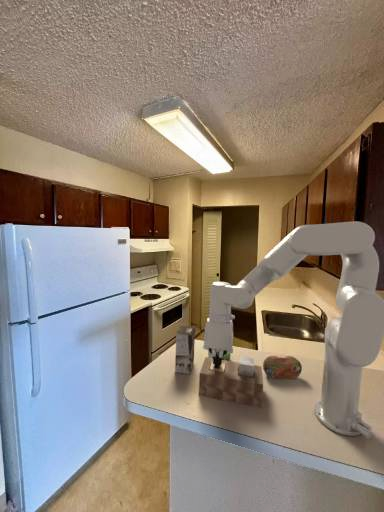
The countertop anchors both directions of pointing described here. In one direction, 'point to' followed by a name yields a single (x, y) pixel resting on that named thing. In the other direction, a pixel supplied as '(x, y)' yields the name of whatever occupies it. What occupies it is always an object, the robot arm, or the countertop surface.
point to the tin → (282, 367)
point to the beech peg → (221, 368)
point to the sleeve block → (231, 384)
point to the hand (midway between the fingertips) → (217, 366)
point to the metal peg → (246, 367)
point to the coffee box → (184, 349)
